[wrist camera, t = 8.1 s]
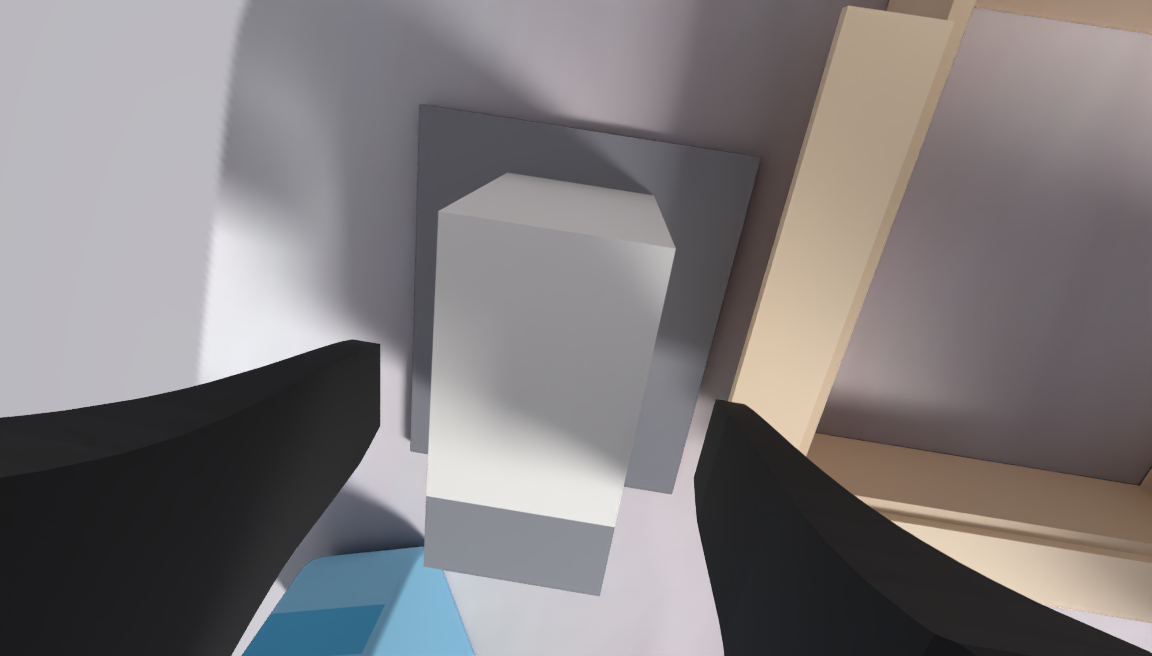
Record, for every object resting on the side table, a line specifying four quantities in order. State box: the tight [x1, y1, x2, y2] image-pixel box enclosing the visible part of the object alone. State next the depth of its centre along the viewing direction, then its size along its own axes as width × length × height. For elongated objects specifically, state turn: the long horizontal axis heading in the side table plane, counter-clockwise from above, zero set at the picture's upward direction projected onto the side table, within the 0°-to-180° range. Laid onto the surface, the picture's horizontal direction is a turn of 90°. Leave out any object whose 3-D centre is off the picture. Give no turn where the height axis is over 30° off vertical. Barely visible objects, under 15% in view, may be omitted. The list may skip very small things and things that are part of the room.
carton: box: [728, 0, 1152, 623], centre depth 14 cm, size 17×15×3 cm
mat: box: [410, 105, 761, 494], centre depth 16 cm, size 9×11×1 cm
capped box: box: [423, 173, 676, 596], centre depth 13 cm, size 4×8×6 cm, turn 172°
